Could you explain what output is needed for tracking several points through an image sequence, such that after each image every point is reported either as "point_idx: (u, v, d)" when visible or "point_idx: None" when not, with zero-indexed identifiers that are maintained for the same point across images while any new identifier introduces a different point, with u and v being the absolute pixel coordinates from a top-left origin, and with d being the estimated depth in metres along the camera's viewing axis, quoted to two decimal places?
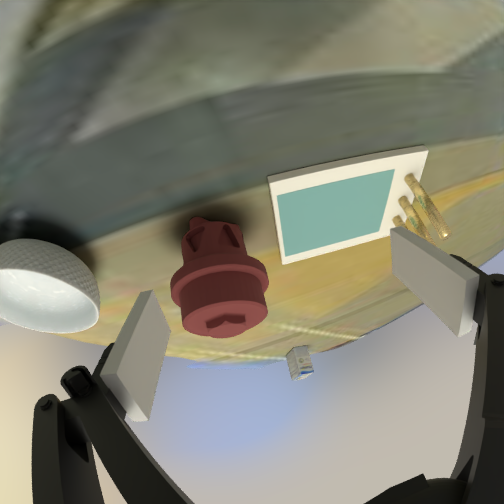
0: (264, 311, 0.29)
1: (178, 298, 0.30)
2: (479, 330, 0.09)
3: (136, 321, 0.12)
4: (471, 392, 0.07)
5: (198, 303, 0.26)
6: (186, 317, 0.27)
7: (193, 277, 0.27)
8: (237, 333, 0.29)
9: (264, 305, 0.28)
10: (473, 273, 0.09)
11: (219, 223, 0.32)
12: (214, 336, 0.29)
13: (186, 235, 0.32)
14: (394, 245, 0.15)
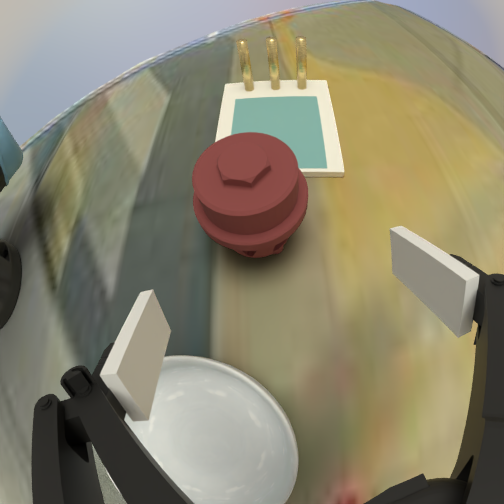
0: (244, 133, 0.24)
1: (233, 235, 0.24)
2: (479, 330, 0.09)
3: (136, 321, 0.12)
4: (471, 392, 0.07)
5: None
6: (205, 203, 0.22)
7: (198, 207, 0.26)
8: (260, 151, 0.22)
9: None
10: (473, 273, 0.09)
11: None
12: (248, 175, 0.21)
13: None
14: (394, 245, 0.15)
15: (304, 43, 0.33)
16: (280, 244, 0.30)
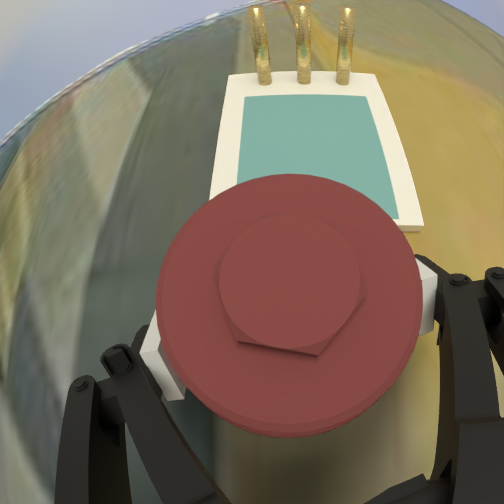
0: (283, 178, 0.10)
1: None
2: (441, 331, 0.10)
3: None
4: (440, 393, 0.08)
5: None
6: (191, 388, 0.08)
7: None
8: (340, 249, 0.08)
9: None
10: (431, 273, 0.10)
11: None
12: (312, 333, 0.07)
13: None
14: None
15: (353, 15, 0.19)
16: None
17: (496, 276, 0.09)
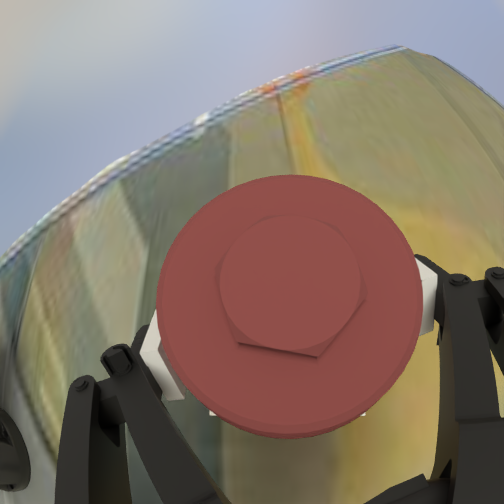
0: (283, 179, 0.10)
1: None
2: (441, 331, 0.10)
3: None
4: (440, 394, 0.08)
5: None
6: (191, 389, 0.08)
7: None
8: (341, 250, 0.08)
9: None
10: (431, 273, 0.10)
11: None
12: (313, 334, 0.07)
13: None
14: None
15: None
16: None
17: (496, 276, 0.09)
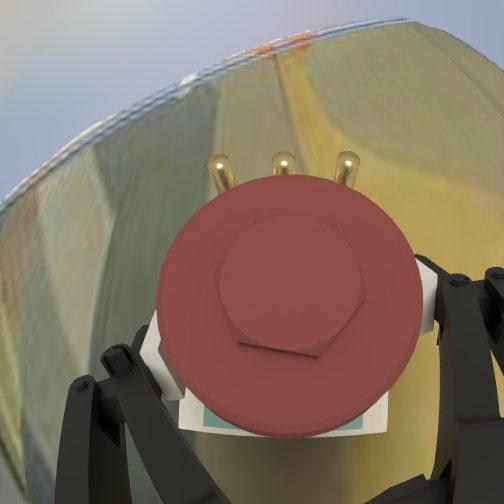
0: (283, 179, 0.10)
1: None
2: (441, 331, 0.10)
3: None
4: (440, 394, 0.08)
5: None
6: (191, 389, 0.08)
7: None
8: (340, 250, 0.08)
9: None
10: (431, 273, 0.10)
11: None
12: (313, 334, 0.07)
13: None
14: None
15: (355, 172, 0.18)
16: None
17: (496, 276, 0.09)
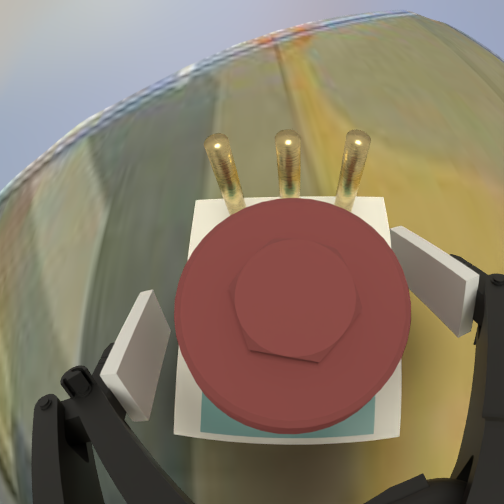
0: (289, 202, 0.11)
1: None
2: (479, 330, 0.09)
3: (136, 321, 0.12)
4: (471, 392, 0.07)
5: None
6: (207, 390, 0.09)
7: None
8: (340, 271, 0.09)
9: None
10: (473, 273, 0.09)
11: None
12: (315, 344, 0.08)
13: None
14: (394, 245, 0.15)
15: (365, 152, 0.16)
16: None
17: None
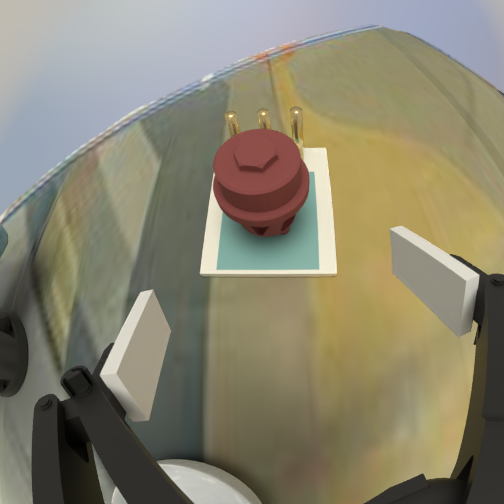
0: (256, 130, 0.29)
1: (247, 212, 0.29)
2: (479, 330, 0.09)
3: (136, 321, 0.12)
4: (471, 392, 0.07)
5: None
6: (224, 185, 0.27)
7: (218, 191, 0.31)
8: (269, 144, 0.27)
9: (248, 131, 0.30)
10: (473, 273, 0.09)
11: None
12: (260, 162, 0.26)
13: (243, 225, 0.36)
14: (394, 245, 0.15)
15: (300, 116, 0.33)
16: (287, 225, 0.35)
17: None
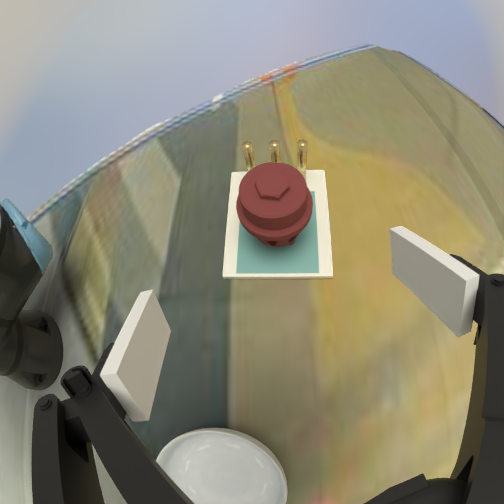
0: (271, 163, 0.38)
1: (265, 230, 0.38)
2: (479, 330, 0.09)
3: (136, 321, 0.12)
4: (471, 392, 0.07)
5: (240, 201, 0.37)
6: (249, 210, 0.36)
7: (240, 212, 0.39)
8: (283, 177, 0.36)
9: (265, 163, 0.38)
10: (473, 273, 0.09)
11: None
12: (276, 192, 0.35)
13: (258, 238, 0.44)
14: (394, 245, 0.15)
15: (305, 148, 0.42)
16: (293, 237, 0.44)
17: None
